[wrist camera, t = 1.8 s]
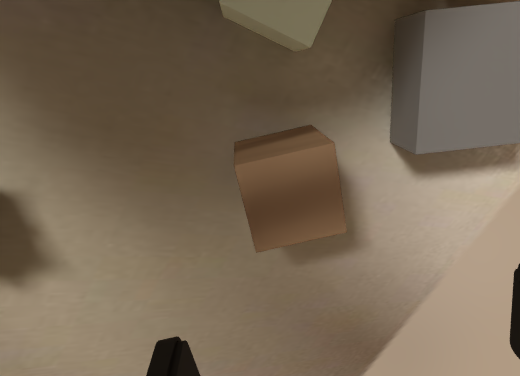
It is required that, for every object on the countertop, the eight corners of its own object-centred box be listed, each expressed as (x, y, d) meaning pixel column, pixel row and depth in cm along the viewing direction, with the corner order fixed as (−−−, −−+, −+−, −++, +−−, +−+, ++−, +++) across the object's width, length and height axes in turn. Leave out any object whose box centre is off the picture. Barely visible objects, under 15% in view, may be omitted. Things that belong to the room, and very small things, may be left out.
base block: (392, 20, 21) (425, 10, 18) (512, 8, 22) (570, -4, 18) (388, 141, 24) (415, 154, 20) (494, 129, 24) (540, 140, 21)
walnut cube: (234, 142, 23) (233, 165, 18) (310, 124, 23) (334, 142, 18) (251, 211, 25) (256, 252, 20) (322, 195, 25) (346, 232, 20)
